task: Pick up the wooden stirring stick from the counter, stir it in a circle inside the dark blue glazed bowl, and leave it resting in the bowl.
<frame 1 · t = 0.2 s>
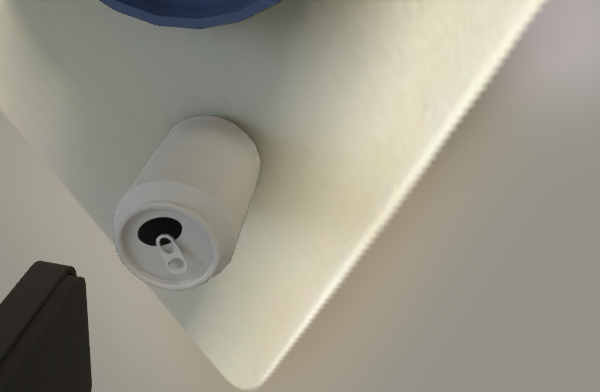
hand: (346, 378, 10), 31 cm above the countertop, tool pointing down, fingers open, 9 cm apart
can: (213, 155, 43), on the countertop
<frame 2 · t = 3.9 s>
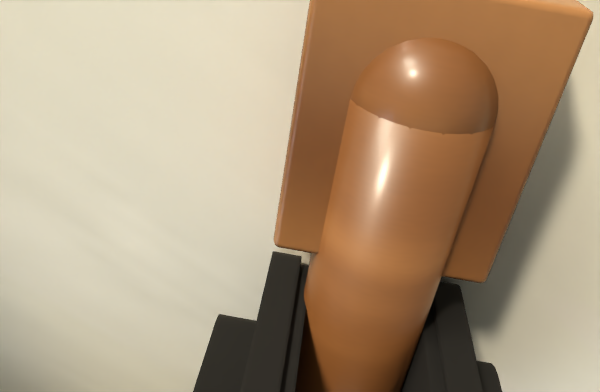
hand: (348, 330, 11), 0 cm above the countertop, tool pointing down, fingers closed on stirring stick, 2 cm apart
stirring stick: (348, 324, 11), on the countertop, touching gripper
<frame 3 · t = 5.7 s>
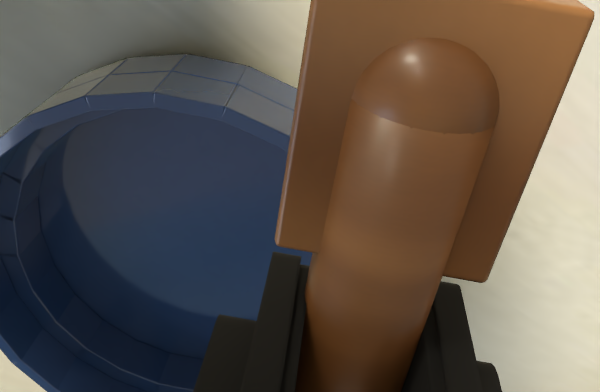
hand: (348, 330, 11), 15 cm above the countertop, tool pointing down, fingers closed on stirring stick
stirring stick: (349, 324, 11), point 15 cm above the countertop, touching gripper
bowl: (202, 238, 29), on the countertop
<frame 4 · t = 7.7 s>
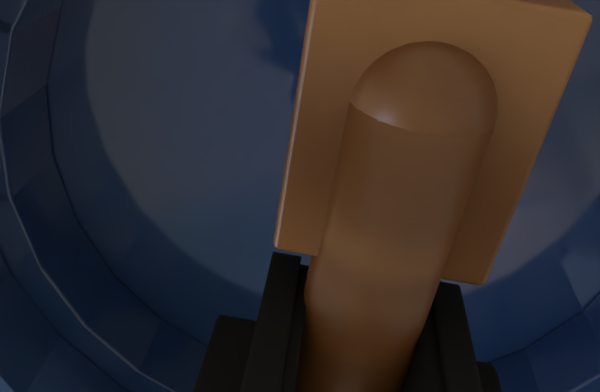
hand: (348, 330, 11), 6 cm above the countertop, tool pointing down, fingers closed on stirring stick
stirring stick: (348, 326, 11), point 6 cm above the countertop, touching gripper
bowl: (350, 164, 16), on the countertop
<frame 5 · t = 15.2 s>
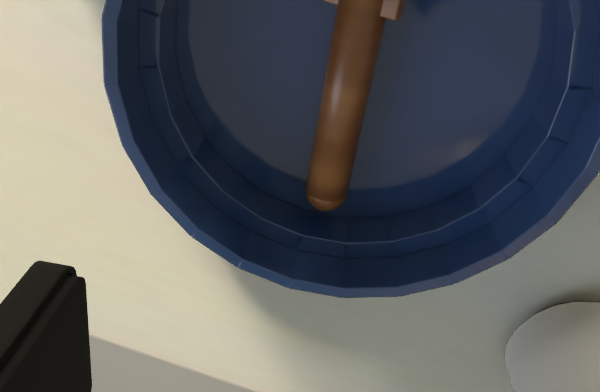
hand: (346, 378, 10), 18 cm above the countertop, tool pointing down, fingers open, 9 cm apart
stirring stick: (359, 64, 25), point 1 cm above the countertop, tilted 23°, touching bowl
bowl: (358, 56, 25), on the countertop
can: (568, 339, 33), on the countertop
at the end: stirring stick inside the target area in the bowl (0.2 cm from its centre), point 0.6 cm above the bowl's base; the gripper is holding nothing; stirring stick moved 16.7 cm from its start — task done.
